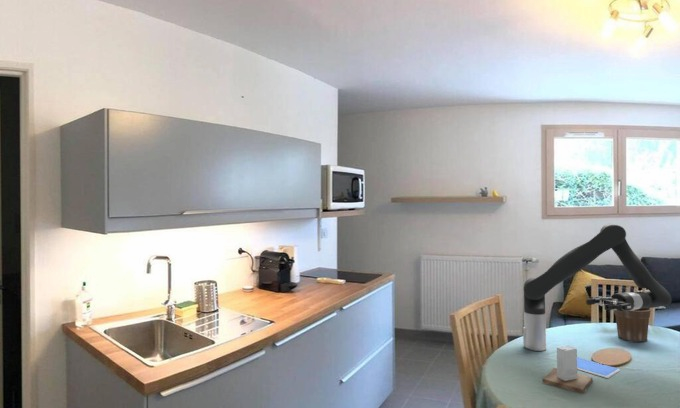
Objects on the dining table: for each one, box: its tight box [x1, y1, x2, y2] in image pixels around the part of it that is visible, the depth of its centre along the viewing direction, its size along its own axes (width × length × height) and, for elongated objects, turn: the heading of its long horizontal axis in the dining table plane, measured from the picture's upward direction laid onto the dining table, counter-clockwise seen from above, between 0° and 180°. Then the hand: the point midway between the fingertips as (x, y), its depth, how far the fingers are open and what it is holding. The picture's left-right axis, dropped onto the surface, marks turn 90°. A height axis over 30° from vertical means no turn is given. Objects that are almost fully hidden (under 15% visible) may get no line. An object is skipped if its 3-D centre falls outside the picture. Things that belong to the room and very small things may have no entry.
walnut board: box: [542, 367, 593, 394], centre depth 160 cm, size 14×14×2 cm
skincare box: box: [556, 345, 578, 381], centre depth 160 cm, size 6×4×12 cm
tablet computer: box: [577, 356, 620, 379], centre depth 173 cm, size 19×13×1 cm, turn 35°
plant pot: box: [613, 308, 653, 343], centre depth 206 cm, size 16×16×16 cm
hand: (595, 304), depth 166 cm, fingers open, 8 cm apart
